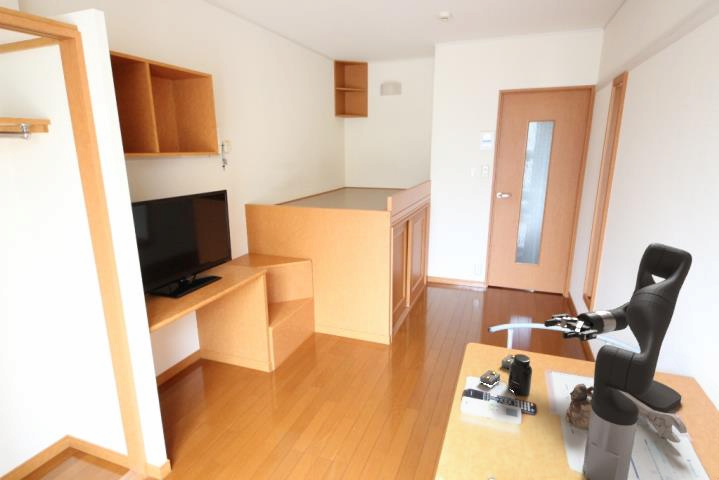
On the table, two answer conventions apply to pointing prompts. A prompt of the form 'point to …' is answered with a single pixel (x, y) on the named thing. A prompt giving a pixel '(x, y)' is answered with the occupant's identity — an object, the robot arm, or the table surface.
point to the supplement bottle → (520, 375)
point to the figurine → (580, 407)
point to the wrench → (660, 420)
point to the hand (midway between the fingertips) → (554, 329)
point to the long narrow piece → (492, 376)
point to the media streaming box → (660, 398)
